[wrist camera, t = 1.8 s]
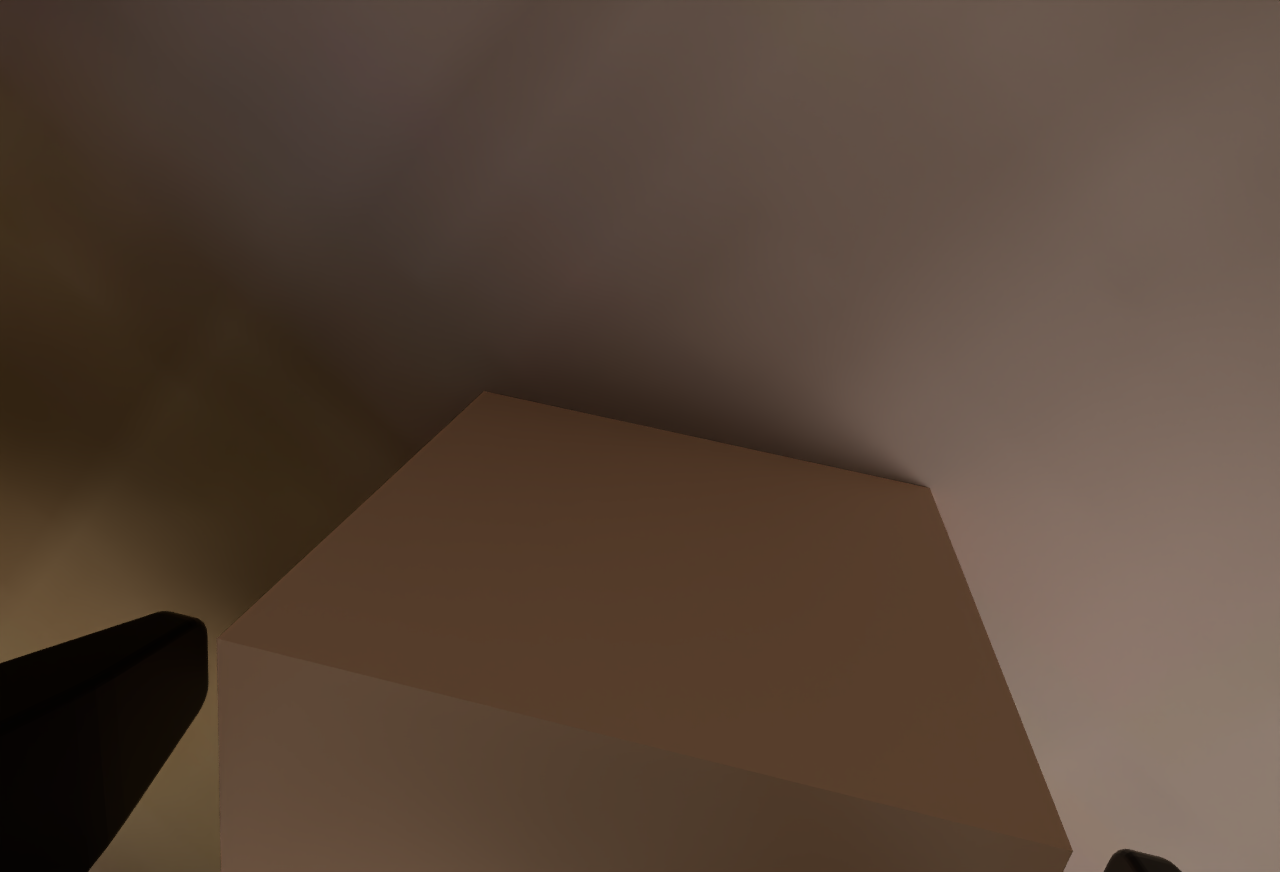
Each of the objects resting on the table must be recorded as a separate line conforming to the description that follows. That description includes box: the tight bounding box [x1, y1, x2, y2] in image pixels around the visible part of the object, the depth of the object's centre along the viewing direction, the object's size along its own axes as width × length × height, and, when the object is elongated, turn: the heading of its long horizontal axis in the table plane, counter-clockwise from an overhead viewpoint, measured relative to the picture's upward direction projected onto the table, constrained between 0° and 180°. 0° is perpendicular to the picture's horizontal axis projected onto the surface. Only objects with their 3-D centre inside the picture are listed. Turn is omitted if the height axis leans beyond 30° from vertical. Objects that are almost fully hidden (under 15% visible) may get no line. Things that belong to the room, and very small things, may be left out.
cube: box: [217, 391, 1073, 872], centre depth 8 cm, size 5×5×5 cm
